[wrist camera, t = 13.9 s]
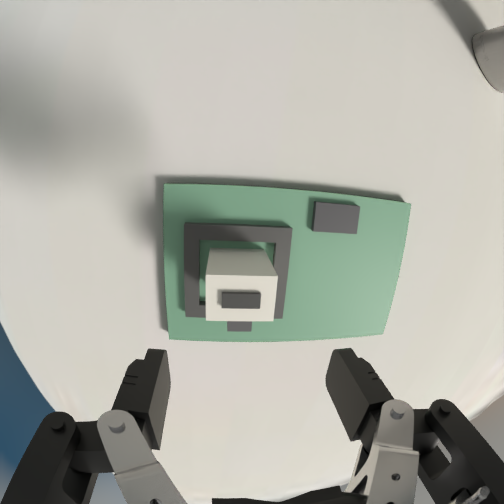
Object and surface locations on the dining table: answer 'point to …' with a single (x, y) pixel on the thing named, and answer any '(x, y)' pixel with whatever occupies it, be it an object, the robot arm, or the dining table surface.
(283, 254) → the board
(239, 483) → the dining table surface
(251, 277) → the plug
